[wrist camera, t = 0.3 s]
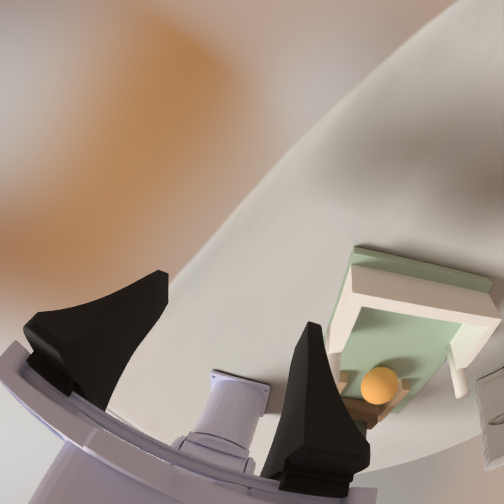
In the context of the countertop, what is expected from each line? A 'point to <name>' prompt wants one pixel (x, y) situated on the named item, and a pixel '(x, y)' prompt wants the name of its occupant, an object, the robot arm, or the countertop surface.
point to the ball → (379, 385)
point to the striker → (362, 414)
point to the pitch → (406, 324)
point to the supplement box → (492, 417)
